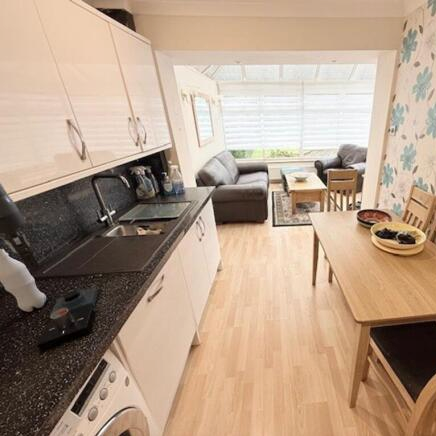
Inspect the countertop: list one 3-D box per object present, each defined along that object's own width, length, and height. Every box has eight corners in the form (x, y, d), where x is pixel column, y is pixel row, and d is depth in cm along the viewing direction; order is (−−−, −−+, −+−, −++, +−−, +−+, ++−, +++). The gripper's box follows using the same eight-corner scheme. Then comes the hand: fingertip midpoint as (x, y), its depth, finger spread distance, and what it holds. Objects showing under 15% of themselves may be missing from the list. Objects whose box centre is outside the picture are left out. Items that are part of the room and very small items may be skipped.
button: (64, 303, 86) (62, 299, 85) (67, 296, 89) (65, 292, 88) (78, 298, 87) (76, 295, 87) (80, 292, 91) (78, 288, 90)
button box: (52, 321, 83) (46, 312, 81) (60, 302, 91) (55, 294, 89) (94, 306, 88) (89, 298, 86) (98, 290, 96) (94, 283, 94)
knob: (55, 332, 75) (47, 320, 73) (59, 322, 78) (51, 310, 76) (73, 326, 77) (65, 314, 74) (76, 316, 80) (69, 305, 78)
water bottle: (39, 298, 94) (2, 244, 83) (53, 300, 93) (17, 245, 82) (17, 312, 88) (-26, 256, 77) (32, 314, 86) (-10, 258, 76)
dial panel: (41, 351, 72) (36, 344, 71) (52, 327, 80) (47, 321, 79) (90, 333, 77) (85, 326, 76) (95, 312, 85) (91, 306, 84)
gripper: (-27, 213, 65) (7, 262, 72) (-20, 224, 57) (17, 277, 64) (12, 204, 70) (40, 250, 77) (23, 213, 63) (53, 263, 70)
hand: (30, 262), depth 71 cm, fingers open, 8 cm apart
